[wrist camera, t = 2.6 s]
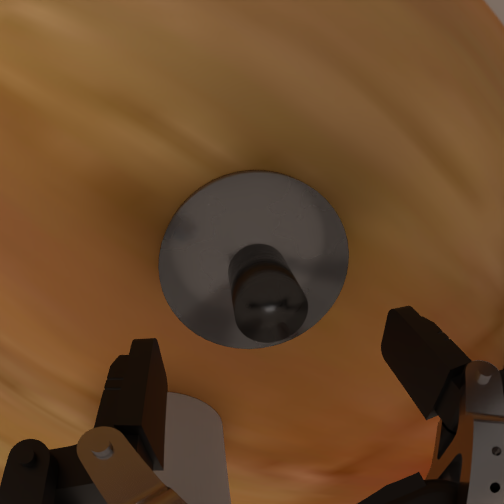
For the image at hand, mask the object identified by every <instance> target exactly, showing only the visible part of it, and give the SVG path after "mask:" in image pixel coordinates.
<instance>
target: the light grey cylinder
mask: <svg viewBox="0 0 504 504" xmlns="http://www.w3.org/2000/svg"><path fill="white" fill-rule="evenodd" d="M153 472H154V473H155V474H156V475H157V477H158V478H159V479H160V480H161V481H162V482H163V483H164V484H165V485H166V486H167V487H170V488H171V489H173V490H174V491H175V492H176V493H177V494H178V495H179V496H180V497H181V498H182V499H183V500H184V501H185V502H186V503H187V504H231V500H230V492H229V483H228V474H227V465H226V456H225V447H224V437H223V426H222V421H221V418H220V416H219V415H218V414H217V412H216V411H215V410H214V409H213V408H211V407H210V406H209V405H207V404H206V403H204V402H202V401H200V400H198V399H196V398H193V397H190V396H187V395H183V394H179V393H173V392H167V405H166V422H165V444H164V471H153Z"/></svg>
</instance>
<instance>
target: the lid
mask: <svg viewBox="0 0 504 504" xmlns="http://www.w3.org/2000/svg"><path fill="white" fill-rule="evenodd" d="M348 257H349V250H348V242H347V237H346V233H345V230H344V227H343V225H342V223H341V220H340V218H339V216H338V215H337V213H336V212H335V210H334V208H333V207H332V206H331V205H330V204H329V202H328V201H327V200H326V199H325V198H324V197H323V196H322V195H320V194H319V193H318V192H317V191H316V190H314V189H313V188H311V187H310V186H308V185H307V184H305V183H303V182H301V181H299V180H297V179H295V178H293V177H291V176H288V175H285V174H281V173H278V172H272V171H266V170H248V171H240V172H235V173H231V174H228V175H224V176H222V177H219V178H217V179H215V180H212V181H211V182H209V183H207V184H205V185H204V186H202V187H200V188H199V189H198V190H197V191H195V192H194V193H193V194H192V195H190V196H189V197H188V198H187V199H186V200H185V201H184V203H183V204H182V205H181V206H180V207H179V209H178V210H177V211H176V213H175V214H174V216H173V218H172V219H171V221H170V223H169V225H168V227H167V230H166V233H165V235H164V238H163V241H162V244H161V249H160V254H159V277H160V283H161V287H162V291H163V293H164V296H165V298H166V300H167V302H168V304H169V306H170V308H171V309H172V311H173V312H174V314H175V315H176V316H177V317H178V319H179V320H180V321H181V322H182V323H183V324H184V325H185V326H186V327H188V328H189V329H190V330H192V331H193V332H194V333H196V334H197V335H199V336H201V337H203V338H204V339H206V340H209V341H211V342H213V343H216V344H219V345H223V346H227V347H233V348H242V349H254V348H264V347H269V346H274V345H277V344H281V343H283V342H286V341H288V340H291V339H293V338H295V337H297V336H299V335H301V334H302V333H304V332H305V331H307V330H308V329H310V328H311V327H312V326H314V325H315V324H316V323H317V322H318V321H319V320H320V319H321V318H322V317H323V316H324V315H325V314H326V313H327V312H328V311H329V309H330V308H331V307H332V305H333V304H334V302H335V301H336V299H337V297H338V295H339V294H340V291H341V289H342V287H343V284H344V281H345V278H346V274H347V268H348Z"/></svg>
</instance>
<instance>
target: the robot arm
mask: <svg viewBox="0 0 504 504" xmlns="http://www.w3.org/2000/svg"><path fill="white" fill-rule="evenodd" d="M381 351H382V355H383V358H384V360H385V361H386V363H387V364H388V365H389V367H390V368H391V370H392V371H393V372H394V374H395V375H396V377H397V378H398V380H399V381H400V382H401V384H402V385H403V387H404V388H405V390H406V391H407V392H408V394H409V395H410V397H411V398H412V400H413V401H414V403H415V404H416V406H417V407H418V408H419V410H420V411H421V413H422V414H423V416H424V417H425V419H426V420H428V419H430V418H433V417H435V416H437V415H439V417H440V418H441V419H440V421H439V423H438V426H437V433H436V440H435V447H434V453H433V459H432V464H431V468H430V470H429V473H428V475H427V477H426V479H425V480H423V478H422V477H421V475H420V473H419V472H418V473H416V474H413V475H411V476H409V477H406V478H404V479H401V480H399V481H396V482H394V483H391V484H389V485H386V486H385V487H383V488H382V489H380V490H379V491H377V492H376V493H374V494H372V495H371V496H369V497H368V498H366V499H364V500H363V501H361V502H359V503H358V504H504V370H498V369H497V368H496V367H495V366H494V365H492V364H491V363H489V362H486V361H480V360H477V361H473V362H472V361H471V360H470V359H469V358H468V357H467V356H466V355H465V353H464V352H463V351H462V350H461V349H460V348H459V347H458V346H457V345H456V344H455V343H454V342H453V341H452V340H451V339H449V337H448V336H447V335H446V334H445V333H442V330H441V329H440V328H439V327H438V326H437V325H436V324H435V323H434V322H432V321H430V320H428V319H426V318H424V317H423V316H422V317H421V316H420V315H419V314H418V313H417V312H416V311H415V310H414V309H413V308H412V307H411V306H405V307H400V308H395V309H391V310H390V311H389V313H388V316H387V320H386V325H385V329H384V334H383V338H382V343H381ZM104 388H105V390H104V391H103V394H102V398H101V402H100V406H99V410H98V414H97V418H96V422H95V426H94V428H93V429H90V430H89V431H87V432H86V433H84V434H83V435H82V436H81V438H80V439H79V441H78V444H76V445H73V446H68V447H63V448H57V449H51V450H49V449H48V448H47V447H46V445H45V444H44V443H42V442H41V441H39V440H35V439H26V440H23V441H21V442H19V443H17V444H16V445H15V446H14V447H13V448H12V449H11V451H10V453H9V456H8V459H7V463H6V466H5V470H4V474H3V478H2V482H1V486H0V504H187V503H186V502H185V501H184V500H183V499H182V498H181V497H180V496H179V495H178V494H177V493H176V492H175V491H174V490H173V489H171V488H170V487H167V486H166V485H165V484H164V483H163V482H162V481H161V480H160V479H159V478H158V477H157V475H156V474H155V473H154V472H153V471H164V444H165V422H166V405H167V377H166V372H165V369H164V365H163V361H162V357H161V353H160V349H159V345H158V342H157V339H156V338H150V339H134V340H133V341H132V345H131V349H130V353H129V355H119V356H118V358H117V359H116V360H115V361H114V362H113V363H112V365H111V366H110V369H109V373H108V376H107V380H106V383H105V387H104Z"/></svg>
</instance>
